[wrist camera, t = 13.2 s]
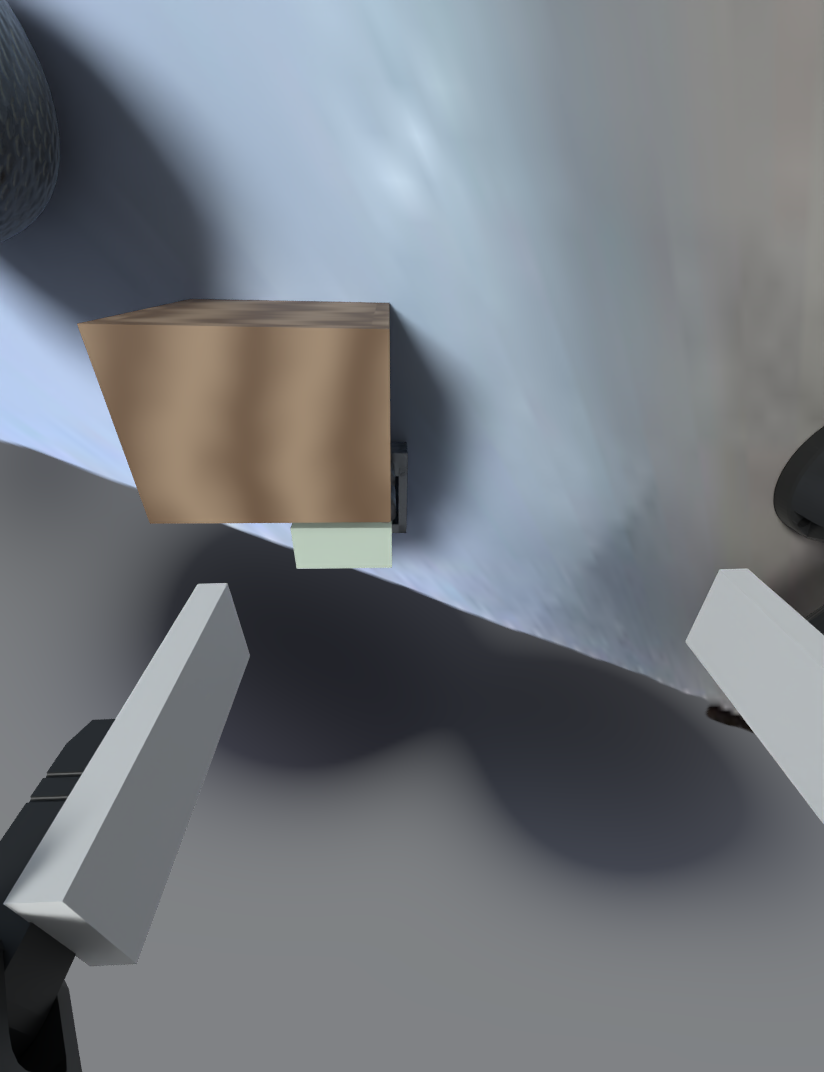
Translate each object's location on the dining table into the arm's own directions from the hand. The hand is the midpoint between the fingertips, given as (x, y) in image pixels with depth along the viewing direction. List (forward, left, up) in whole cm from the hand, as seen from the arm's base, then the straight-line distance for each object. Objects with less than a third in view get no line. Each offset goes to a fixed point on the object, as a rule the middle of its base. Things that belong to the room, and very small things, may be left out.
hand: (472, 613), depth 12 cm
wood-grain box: (+10, +1, -31) cm, 33 cm away
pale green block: (+6, +12, -31) cm, 34 cm away
